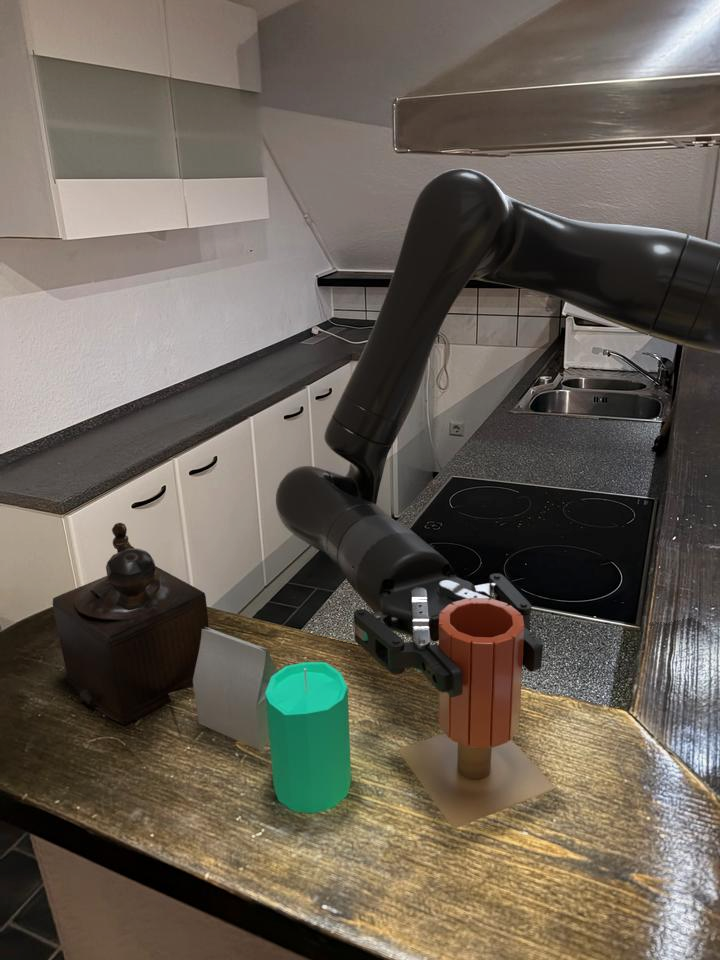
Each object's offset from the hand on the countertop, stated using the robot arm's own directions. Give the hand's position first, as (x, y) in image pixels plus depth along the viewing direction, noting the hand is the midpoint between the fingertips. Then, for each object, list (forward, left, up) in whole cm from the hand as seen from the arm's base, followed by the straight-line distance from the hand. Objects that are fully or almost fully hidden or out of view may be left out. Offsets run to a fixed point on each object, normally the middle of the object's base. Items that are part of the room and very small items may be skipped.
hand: (498, 672), depth 54 cm
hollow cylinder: (0, -2, -6) cm, 6 cm away
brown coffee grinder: (+21, -26, -12) cm, 35 cm away
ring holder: (0, -3, -12) cm, 12 cm away
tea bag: (+15, -16, -12) cm, 25 cm away
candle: (+12, -7, -12) cm, 18 cm away
